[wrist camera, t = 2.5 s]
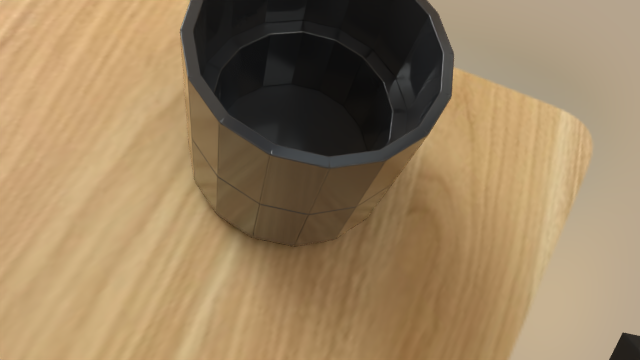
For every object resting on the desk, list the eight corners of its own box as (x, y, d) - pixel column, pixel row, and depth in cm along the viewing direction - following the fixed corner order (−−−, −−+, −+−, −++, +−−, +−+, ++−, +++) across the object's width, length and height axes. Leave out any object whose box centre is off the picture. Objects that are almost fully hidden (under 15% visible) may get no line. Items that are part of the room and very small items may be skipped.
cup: (393, 97, 34) (459, -23, 25) (373, 267, 29) (446, 194, 20) (217, 55, 33) (220, -86, 24) (166, 223, 28) (145, 127, 19)
